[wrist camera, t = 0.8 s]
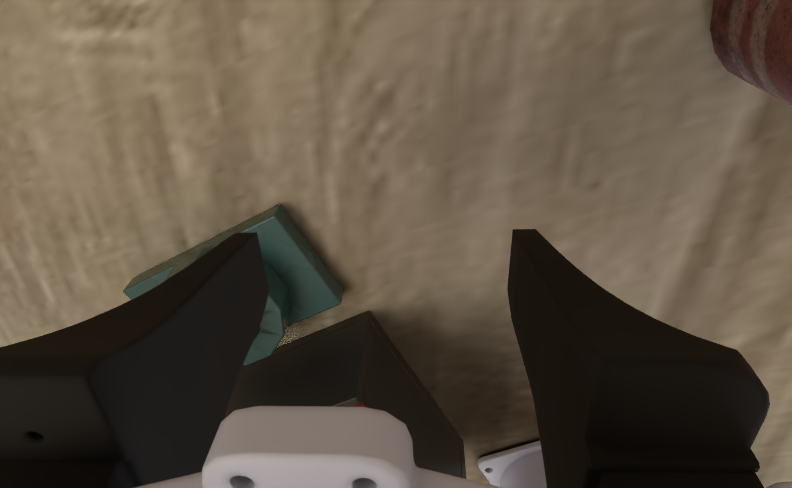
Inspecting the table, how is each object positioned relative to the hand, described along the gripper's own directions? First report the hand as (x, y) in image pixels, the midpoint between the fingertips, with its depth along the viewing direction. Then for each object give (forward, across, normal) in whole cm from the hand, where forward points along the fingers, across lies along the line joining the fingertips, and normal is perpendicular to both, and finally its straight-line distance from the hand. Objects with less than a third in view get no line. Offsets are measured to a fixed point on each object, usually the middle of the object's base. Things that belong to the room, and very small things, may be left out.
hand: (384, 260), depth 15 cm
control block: (+10, +9, +8) cm, 16 cm away
